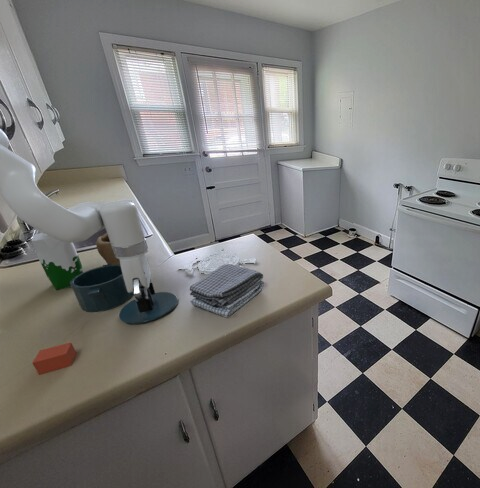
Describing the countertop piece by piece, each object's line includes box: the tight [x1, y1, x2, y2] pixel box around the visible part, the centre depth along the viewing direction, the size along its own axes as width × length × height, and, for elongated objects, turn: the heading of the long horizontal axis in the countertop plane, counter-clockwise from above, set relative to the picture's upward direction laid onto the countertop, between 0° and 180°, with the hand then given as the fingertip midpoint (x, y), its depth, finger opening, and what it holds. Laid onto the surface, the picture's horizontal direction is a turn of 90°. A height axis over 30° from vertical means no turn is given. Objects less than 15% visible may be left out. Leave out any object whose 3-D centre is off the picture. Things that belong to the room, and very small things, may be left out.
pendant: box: [181, 250, 257, 276], centre depth 105 cm, size 21×28×1 cm
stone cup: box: [95, 232, 120, 265], centre depth 100 cm, size 15×12×15 cm
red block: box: [31, 341, 77, 375], centre depth 61 cm, size 6×4×4 cm
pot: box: [70, 263, 135, 313], centre depth 83 cm, size 14×19×8 cm
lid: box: [118, 288, 178, 325], centre depth 79 cm, size 15×15×7 cm
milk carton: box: [31, 232, 84, 291], centre depth 90 cm, size 9×9×20 cm
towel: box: [189, 264, 265, 318], centre depth 84 cm, size 15×18×8 cm
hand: (147, 302), depth 79 cm, fingers open, 8 cm apart
